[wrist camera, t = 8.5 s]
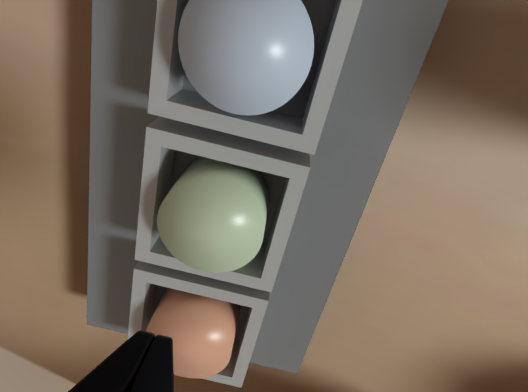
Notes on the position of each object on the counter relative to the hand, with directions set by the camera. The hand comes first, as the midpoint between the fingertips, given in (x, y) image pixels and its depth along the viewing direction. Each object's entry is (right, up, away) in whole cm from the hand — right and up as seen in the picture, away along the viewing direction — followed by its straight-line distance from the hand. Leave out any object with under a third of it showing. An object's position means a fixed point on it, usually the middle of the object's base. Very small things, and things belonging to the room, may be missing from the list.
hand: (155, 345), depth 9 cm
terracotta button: (-1, -2, +10) cm, 11 cm away
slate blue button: (+2, +9, +4) cm, 10 cm away
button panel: (+1, +5, +9) cm, 10 cm away
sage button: (+1, +4, +7) cm, 8 cm away
